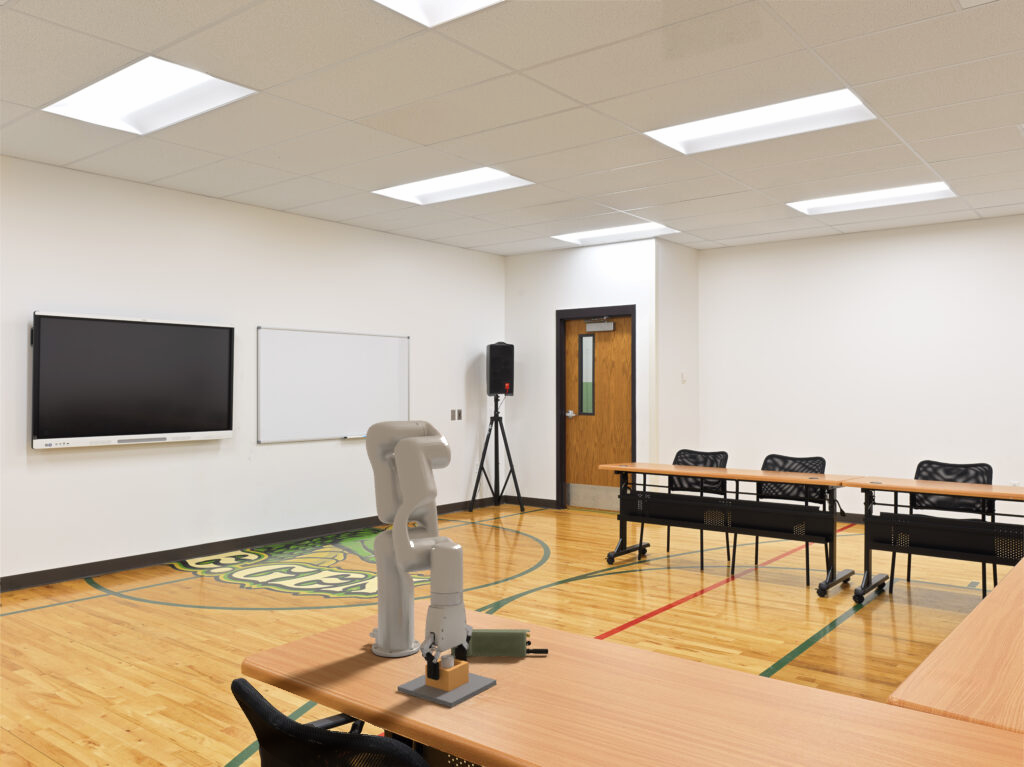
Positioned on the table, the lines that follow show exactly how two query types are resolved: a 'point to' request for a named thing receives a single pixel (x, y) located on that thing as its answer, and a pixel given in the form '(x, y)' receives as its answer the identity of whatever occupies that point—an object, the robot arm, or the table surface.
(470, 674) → the plate
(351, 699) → the table surface
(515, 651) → the handheld radio
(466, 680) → the orange open box
